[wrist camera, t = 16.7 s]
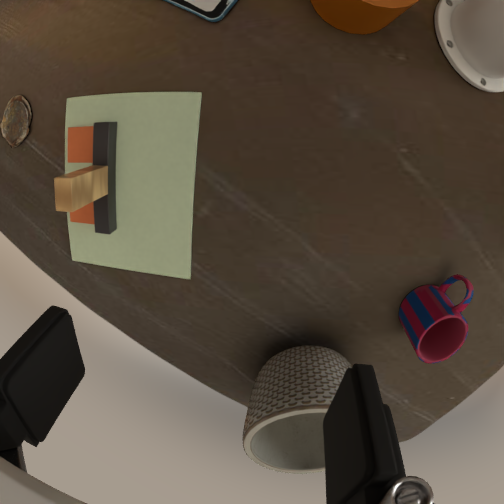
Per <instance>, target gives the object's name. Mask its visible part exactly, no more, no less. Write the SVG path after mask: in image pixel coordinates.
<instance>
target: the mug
mask: <svg viewBox="0 0 504 504" xmlns="http://www.w3.org/2000/svg"><path fill="white" fill-rule="evenodd" d="M310 1H311V3H312V5H313V7H314V9H315V11H316V12H317V13H318V14H319V15H320V16H321V18H322V19H323V20H324V21H325V22H327V23H329V24H330V25H332V26H333V27H335V28H336V29H339V30H342V31H345V32H348V33H352V34H363V35H364V34H369V33H374V32H377V31H379V30H380V29H382V28H384V27H386V26H387V25H388V24H389V23H391V22H392V21H393V20H394V19H396V18H397V17H398V16H400V15H401V14H402V13H403V12H405V11H406V10H407V9H409V8H410V7H411V6H413V5H414V4H415V3H417V2H418V1H419V0H310Z"/></svg>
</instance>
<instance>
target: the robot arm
mask: <svg viewBox="0 0 504 504" xmlns="http://www.w3.org/2000/svg"><path fill="white" fill-rule="evenodd" d="M434 18H435V29H436V35H437V37H438V41H439V44H440V46H441V48H442V50H443V52H444V54H445V56H446V57H447V59H448V61H449V62H450V64H451V65H452V66H453V67H454V69H455V70H456V71H457V72H458V73H459V74H460V75H461V76H462V77H463V78H464V79H465V80H466V81H467V82H469V83H470V84H471V85H473V86H475V87H476V88H478V89H480V90H484V91H487V92H503V91H504V0H440V1H439V3H438V5H437V7H436V10H435V15H434ZM84 374H85V367H84V364H83V360H82V357H81V353H80V349H79V345H78V342H77V338H76V334H75V329H74V325H73V321H72V317H71V315H69V313H68V311H67V310H66V309H63V308H60V307H57V306H51V307H50V308H49V309H47V310H46V311H45V312H44V314H42V315H41V316H40V317H39V319H38V320H37V321H36V322H35V323H34V324H33V325H32V326H31V327H30V328H29V329H28V330H27V331H26V332H25V333H24V334H23V335H22V336H21V337H20V338H19V339H18V340H17V342H16V343H15V344H14V345H13V346H12V347H11V348H10V349H9V350H8V351H7V352H6V353H5V355H4V356H3V357H2V358H1V359H0V504H87V503H84V502H82V501H80V500H77V499H75V498H73V497H71V496H69V495H67V494H65V493H63V492H61V491H59V490H57V489H55V488H53V487H51V486H49V485H47V484H45V483H43V482H42V481H40V480H38V479H36V478H34V477H33V476H31V475H29V474H28V473H27V470H26V466H25V461H24V456H23V451H22V445H21V444H22V442H23V441H24V440H25V441H26V442H28V443H30V444H31V445H33V446H35V447H37V445H38V444H39V442H42V441H44V439H45V438H46V436H47V434H48V433H49V431H50V429H51V427H52V426H53V424H54V423H55V421H56V419H57V418H58V416H59V415H60V413H61V411H62V410H63V408H64V406H65V405H66V403H67V401H68V400H69V399H70V397H71V395H72V394H73V392H74V391H75V389H76V388H77V386H78V385H79V383H80V381H81V380H82V378H83V377H84ZM323 436H324V454H325V472H326V473H325V474H326V498H327V499H326V500H327V504H434V503H433V492H432V489H431V487H430V486H429V484H428V483H427V482H426V481H424V480H423V479H421V478H418V477H415V476H407V477H406V474H405V469H404V465H403V460H402V455H401V451H400V447H399V442H398V438H397V434H396V430H395V426H394V422H393V418H392V414H391V410H390V408H389V406H388V405H387V404H383V402H382V398H381V394H380V391H379V387H378V383H377V379H376V376H375V372H374V368H373V366H372V365H365V364H354V365H353V367H352V368H347V370H346V372H345V374H344V376H343V379H342V381H341V383H340V385H339V387H338V390H337V392H336V394H335V396H334V398H333V400H332V402H331V404H330V406H329V408H328V410H327V412H326V414H325V417H324V420H323Z"/></svg>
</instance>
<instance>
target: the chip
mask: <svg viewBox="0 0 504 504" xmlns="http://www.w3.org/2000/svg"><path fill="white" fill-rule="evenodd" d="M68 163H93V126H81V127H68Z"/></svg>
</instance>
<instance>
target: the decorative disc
mask: <svg viewBox="0 0 504 504" xmlns="http://www.w3.org/2000/svg"><path fill="white" fill-rule="evenodd" d="M31 116H32V114H31V111H30V105H29V103H28V101H27V100H25V98H24V97H23V96H21V95H18V96H14V97H13V98H11V100H10V101H9V103H8V105H7V107H6V110H5V112H4V116H3V120H2V123H1V128H0V129H1V135H2V137H3V138H4V137H5V139H6V140H7V141H8V142H9V145H10V146H11V148H13V147H17V146H19V145H20V143H22V141H23V140H24V137H27V134H28V132H29V128H28V126H29V125H30V121H31Z"/></svg>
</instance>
